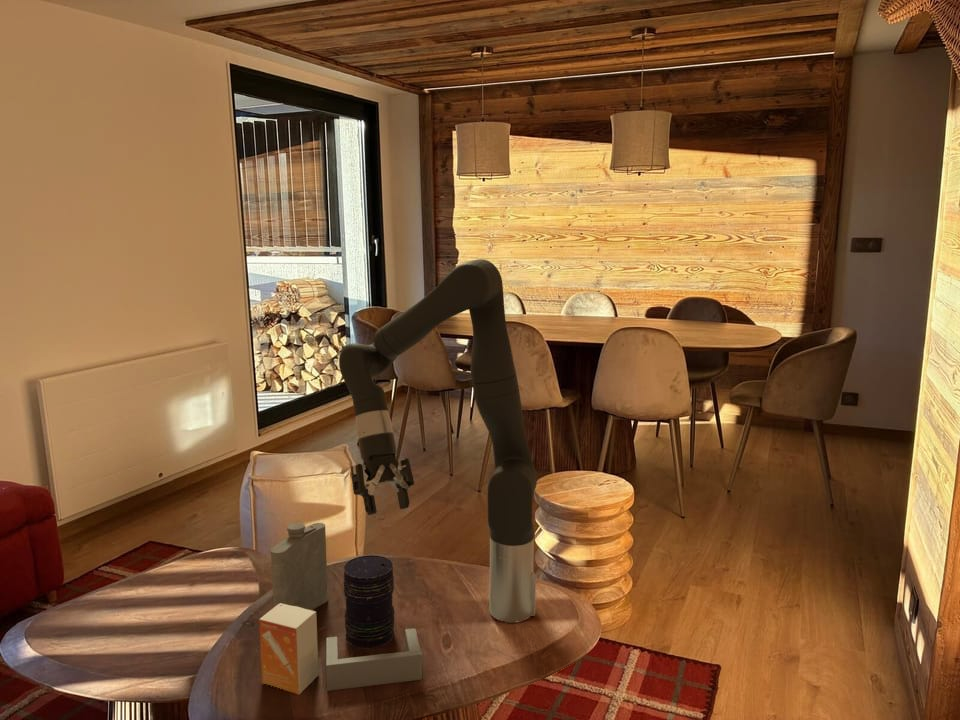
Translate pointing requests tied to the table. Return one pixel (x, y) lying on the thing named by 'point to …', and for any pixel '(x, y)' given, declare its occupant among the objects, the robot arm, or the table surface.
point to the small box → (289, 647)
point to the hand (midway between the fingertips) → (388, 511)
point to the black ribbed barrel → (369, 601)
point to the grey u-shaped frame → (373, 666)
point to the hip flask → (300, 567)
